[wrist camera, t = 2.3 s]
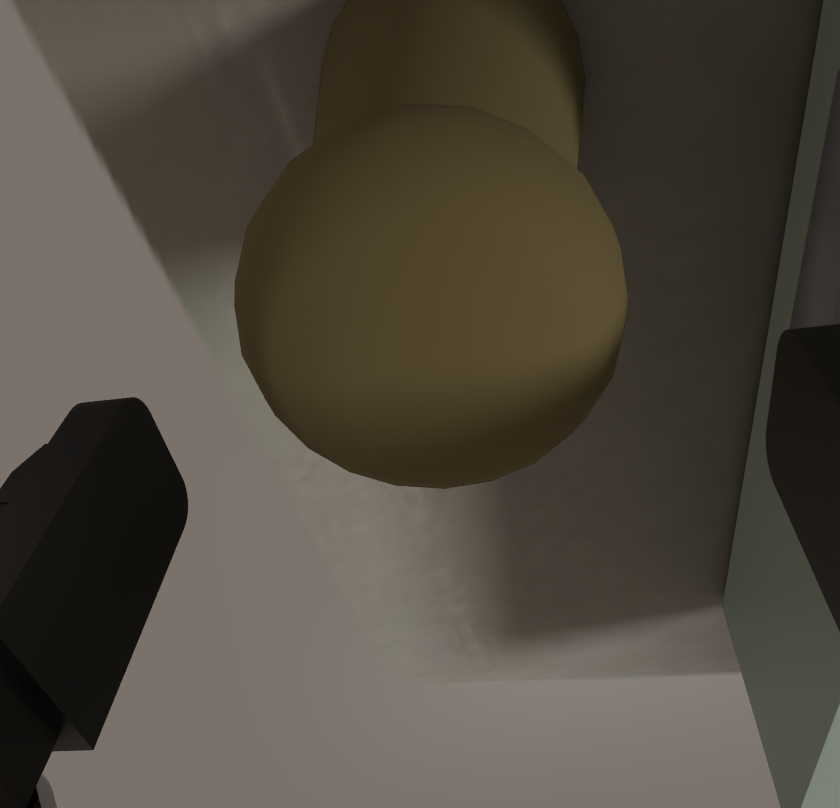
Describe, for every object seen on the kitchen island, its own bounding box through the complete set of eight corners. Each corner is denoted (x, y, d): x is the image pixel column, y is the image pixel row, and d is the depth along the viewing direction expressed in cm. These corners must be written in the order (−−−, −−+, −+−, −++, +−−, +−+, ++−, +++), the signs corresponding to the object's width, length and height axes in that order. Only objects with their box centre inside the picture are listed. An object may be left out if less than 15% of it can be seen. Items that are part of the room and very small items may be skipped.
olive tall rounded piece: (348, 227, 20) (247, 560, 11) (294, -36, 16) (80, 165, 8) (584, 204, 19) (667, 545, 10) (585, -77, 15) (715, 96, 7)
